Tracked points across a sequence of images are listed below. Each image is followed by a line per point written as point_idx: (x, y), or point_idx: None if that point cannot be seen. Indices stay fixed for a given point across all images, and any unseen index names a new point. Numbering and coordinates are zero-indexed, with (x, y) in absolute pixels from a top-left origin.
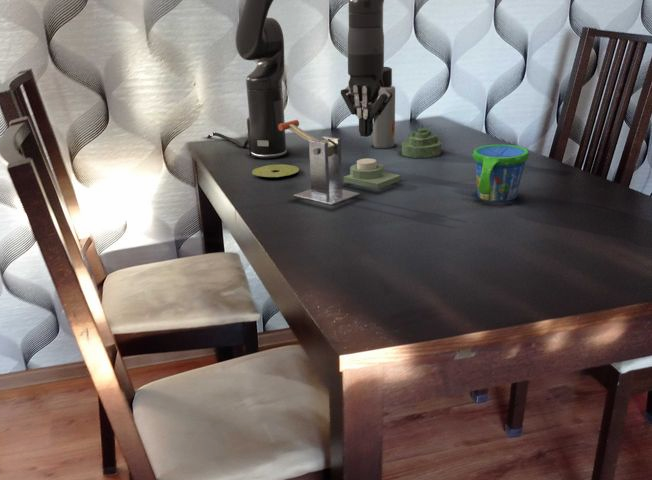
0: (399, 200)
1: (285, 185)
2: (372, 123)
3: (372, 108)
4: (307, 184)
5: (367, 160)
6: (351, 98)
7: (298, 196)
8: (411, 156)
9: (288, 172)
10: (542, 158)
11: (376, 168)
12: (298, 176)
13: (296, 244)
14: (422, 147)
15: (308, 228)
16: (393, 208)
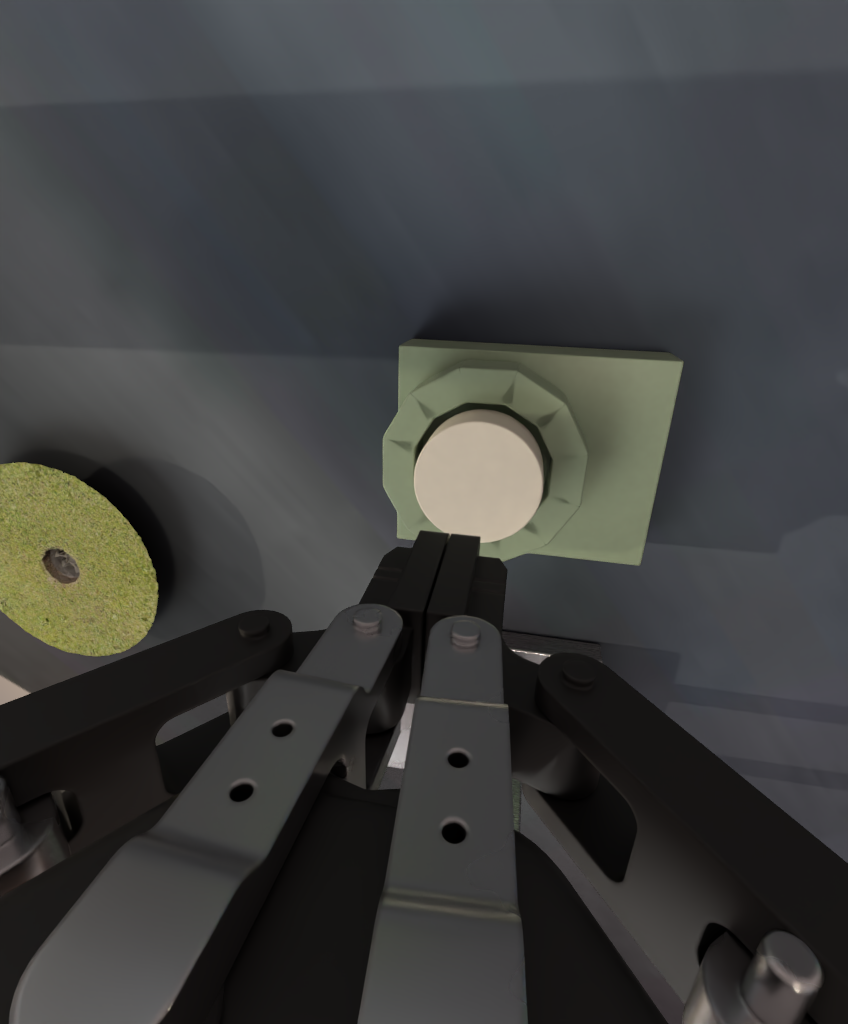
0: (789, 583)
1: (196, 609)
2: (502, 615)
3: (574, 860)
4: (253, 562)
5: (475, 474)
6: (101, 810)
7: (396, 766)
8: None
9: (124, 567)
10: None
11: (556, 475)
12: (125, 482)
13: (655, 1000)
14: None
15: (608, 914)
16: (810, 683)
